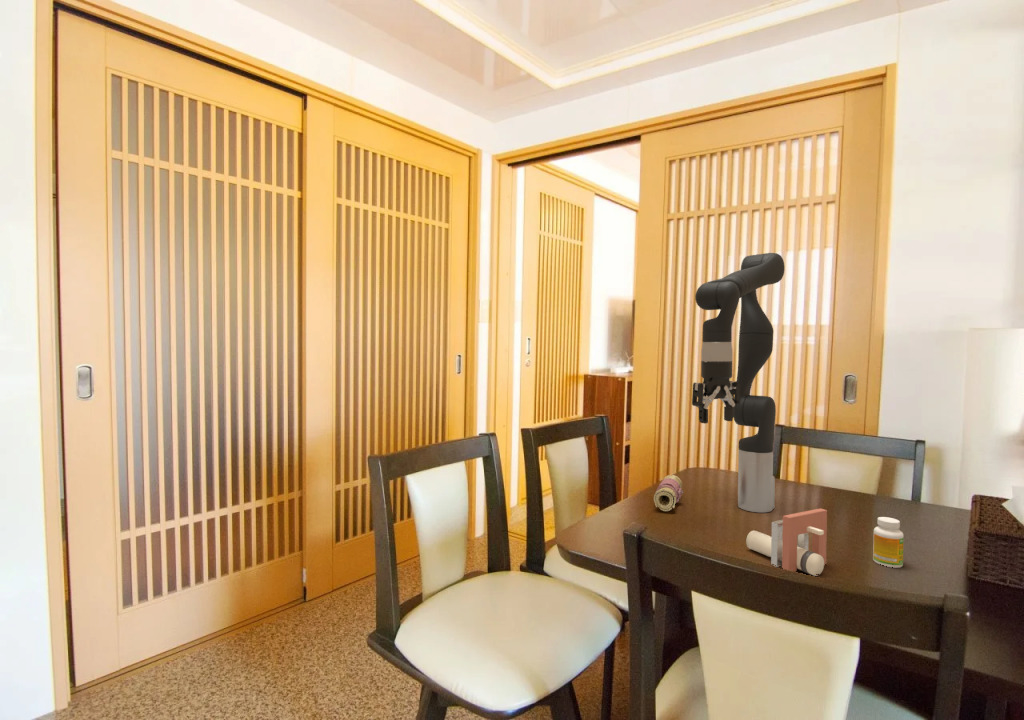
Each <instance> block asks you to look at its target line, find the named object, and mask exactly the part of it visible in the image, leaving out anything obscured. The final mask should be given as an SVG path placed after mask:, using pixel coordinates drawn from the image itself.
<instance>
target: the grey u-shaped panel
mask: <svg viewBox="0 0 1024 720" xmlns="http://www.w3.org/2000/svg"><path fill="white" fill-rule="evenodd" d="M809 533H810V532H809ZM809 533H804V534H800V535H797V547H800V548H803V549H805V550H808V551H809ZM771 537H772V538H771V557H770V563H771V564H770V565H771V566H773V567H775V568H780V567H779V566H781V567H782V541H783V519H779V520H775V521H771ZM772 564H774V565H772ZM775 565H776V566H775ZM778 565H779V566H778Z"/></svg>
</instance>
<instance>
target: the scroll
mask: <svg viewBox="0 0 1024 720" xmlns="http://www.w3.org/2000/svg"><path fill="white" fill-rule="evenodd" d="M683 494H684V491H683V481H682V480H681V479H680V478H679V477H678V476H677V475H674V474H672V475H671V474H670V475H669V474H668V475H666V476H665V477H664V478H663V479H662V481H661V482H660V483H659V485H658V487H657V488H656V490H655V493H654V495H653V502H654V504H655V507H656V508H659V509H660V510H661V511H663V512H669V511H671V510H672V509H675V506H676V505H677V503H678V502H680V500H681V498H682V497H683ZM675 504H676V505H675Z"/></svg>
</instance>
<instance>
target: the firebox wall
mask: <svg viewBox="0 0 1024 720" xmlns="http://www.w3.org/2000/svg"><path fill="white" fill-rule="evenodd" d="M782 520H783V530H782V541H783V548H782V566H781V568H783V569H787V570H791V571H798V569H797V547H798V535H800V534H804V533H812V545H811V548H812V550H811V551H812V552H815V553H817V554H819V555H821V556H822V557H823V559H824V566H826V565H827V537H828V536H827V535H828V534H827V533H828V530H827V529H828V527H827V526H828V525H827V524H828V510H827V509H824V508H821V507H820V508H816V509H811V510H804V511H801V512H795V513H790V514H786V515H783V516H782ZM825 564H826V565H825Z"/></svg>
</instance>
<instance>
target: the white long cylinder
mask: <svg viewBox="0 0 1024 720" xmlns="http://www.w3.org/2000/svg"><path fill="white" fill-rule="evenodd" d="M771 538H772V535H771V536H770V535H768V534H766V533H763V532H760V531H757V530H751V531H749V533H748V534H747V537H746V538H745V539H746V540H745V543H746V546H747V548H748V549H750V550H751V551H755V552H756V553H759V554H762V555H764V556H766V557H768V558H771ZM782 548H783V540H782ZM824 567H825V565H824V559H823V557H822V556H821V555H819V554H817V553H815V552H812V550H809V549H808V550H805V549H803V548H800V547H798V546H797V570H799V571H802V572H803V573H805V574H808V575H810V576H814V577H817V576H819V575H821V574H822V572H823V570H824ZM816 574H819V575H816Z"/></svg>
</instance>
